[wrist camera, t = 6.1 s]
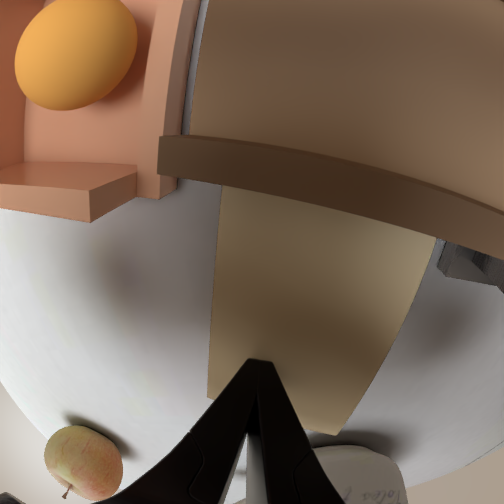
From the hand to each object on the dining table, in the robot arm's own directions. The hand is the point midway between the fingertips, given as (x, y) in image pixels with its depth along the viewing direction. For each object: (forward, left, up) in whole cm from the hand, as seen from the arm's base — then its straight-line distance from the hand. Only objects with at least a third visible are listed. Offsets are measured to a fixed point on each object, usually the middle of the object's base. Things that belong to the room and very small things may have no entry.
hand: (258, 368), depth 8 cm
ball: (+9, +7, -1) cm, 11 cm away
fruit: (-19, +13, -4) cm, 23 cm away
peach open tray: (+9, +8, -3) cm, 13 cm away
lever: (+5, -8, +1) cm, 10 cm away
